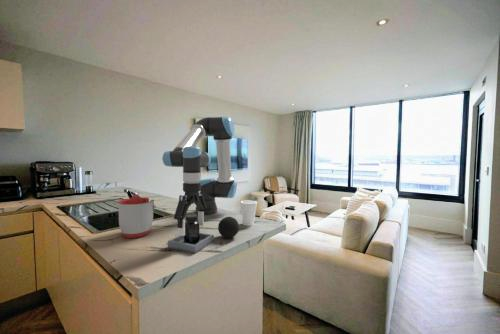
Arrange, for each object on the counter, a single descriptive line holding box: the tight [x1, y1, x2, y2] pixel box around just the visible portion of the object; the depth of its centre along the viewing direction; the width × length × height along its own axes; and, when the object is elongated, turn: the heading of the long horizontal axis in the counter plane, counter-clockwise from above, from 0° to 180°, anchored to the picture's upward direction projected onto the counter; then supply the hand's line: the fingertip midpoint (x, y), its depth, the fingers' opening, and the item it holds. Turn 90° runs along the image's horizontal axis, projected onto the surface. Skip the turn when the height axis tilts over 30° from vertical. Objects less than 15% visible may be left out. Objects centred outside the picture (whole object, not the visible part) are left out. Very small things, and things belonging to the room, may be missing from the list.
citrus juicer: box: [117, 193, 158, 239], centre depth 108 cm, size 16×17×20 cm
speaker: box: [217, 216, 240, 239], centre depth 105 cm, size 10×10×10 cm
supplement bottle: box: [184, 214, 201, 245], centre depth 96 cm, size 7×7×12 cm
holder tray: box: [167, 232, 215, 255], centre depth 97 cm, size 14×14×3 cm
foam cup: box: [240, 199, 258, 227], centre depth 126 cm, size 10×9×13 cm
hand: (191, 229), depth 96 cm, fingers open, 13 cm apart
